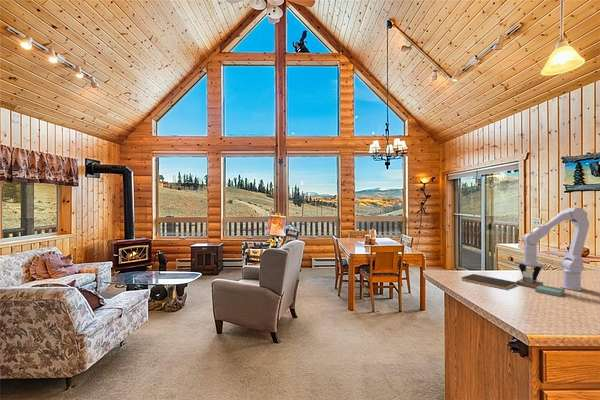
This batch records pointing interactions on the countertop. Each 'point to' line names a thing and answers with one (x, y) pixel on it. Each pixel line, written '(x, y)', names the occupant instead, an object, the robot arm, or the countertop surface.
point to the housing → (528, 276)
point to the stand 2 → (550, 290)
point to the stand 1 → (528, 284)
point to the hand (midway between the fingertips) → (529, 279)
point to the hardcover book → (489, 281)
